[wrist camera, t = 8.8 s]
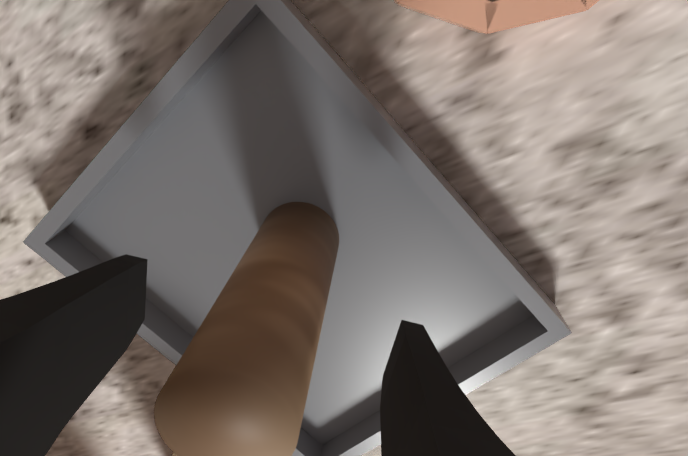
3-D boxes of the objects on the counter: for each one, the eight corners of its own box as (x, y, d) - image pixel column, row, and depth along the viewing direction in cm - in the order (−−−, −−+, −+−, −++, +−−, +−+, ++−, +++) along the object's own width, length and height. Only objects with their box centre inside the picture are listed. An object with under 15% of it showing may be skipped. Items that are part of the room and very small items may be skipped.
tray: (555, 305, 19) (571, 332, 17) (323, 447, 23) (318, 480, 21) (269, -24, 15) (254, -30, 13) (54, 222, 19) (22, 242, 17)
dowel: (346, 212, 17) (311, 389, 9) (330, 280, 18) (285, 490, 10) (267, 193, 17) (158, 352, 9) (256, 263, 18) (150, 460, 10)
